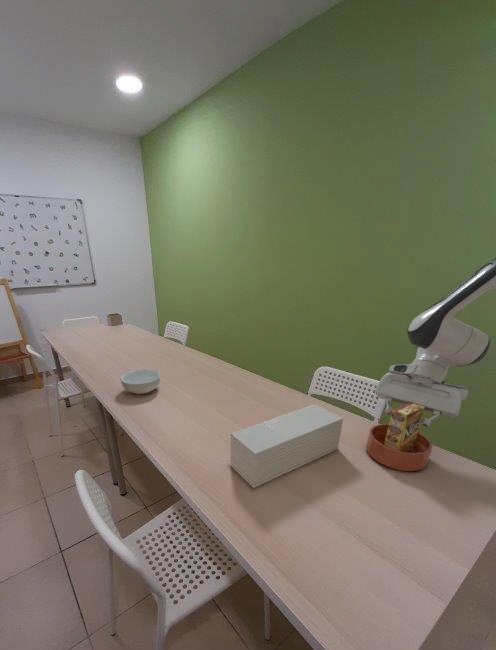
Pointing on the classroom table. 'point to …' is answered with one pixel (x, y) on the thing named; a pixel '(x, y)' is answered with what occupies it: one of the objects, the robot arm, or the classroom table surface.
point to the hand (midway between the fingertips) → (406, 419)
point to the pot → (395, 457)
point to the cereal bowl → (140, 381)
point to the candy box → (404, 427)
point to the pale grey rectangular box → (284, 443)
